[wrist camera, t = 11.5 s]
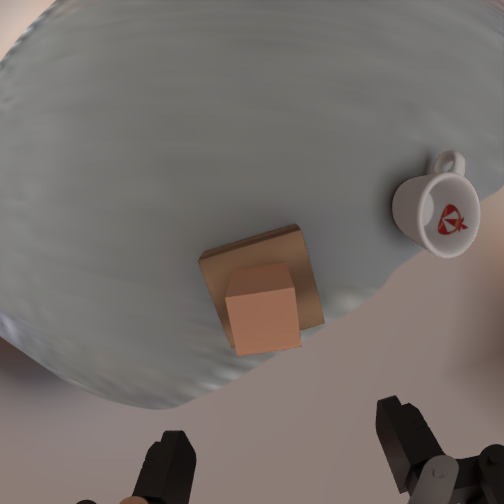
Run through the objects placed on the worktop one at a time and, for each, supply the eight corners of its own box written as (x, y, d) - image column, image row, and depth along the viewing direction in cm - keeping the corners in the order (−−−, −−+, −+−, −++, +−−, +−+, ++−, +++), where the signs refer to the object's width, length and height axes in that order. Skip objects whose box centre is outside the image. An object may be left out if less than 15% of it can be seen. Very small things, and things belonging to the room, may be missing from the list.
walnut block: (204, 250, 32) (198, 260, 28) (295, 223, 31) (301, 229, 27) (234, 330, 34) (231, 348, 30) (317, 307, 33) (325, 323, 29)
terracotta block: (232, 270, 28) (224, 297, 21) (285, 262, 28) (294, 287, 21) (241, 317, 29) (237, 355, 22) (291, 310, 29) (301, 346, 22)
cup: (404, 137, 28) (443, 128, 20) (454, 169, 29) (496, 171, 21) (372, 225, 30) (405, 240, 23) (424, 251, 31) (463, 270, 23)
